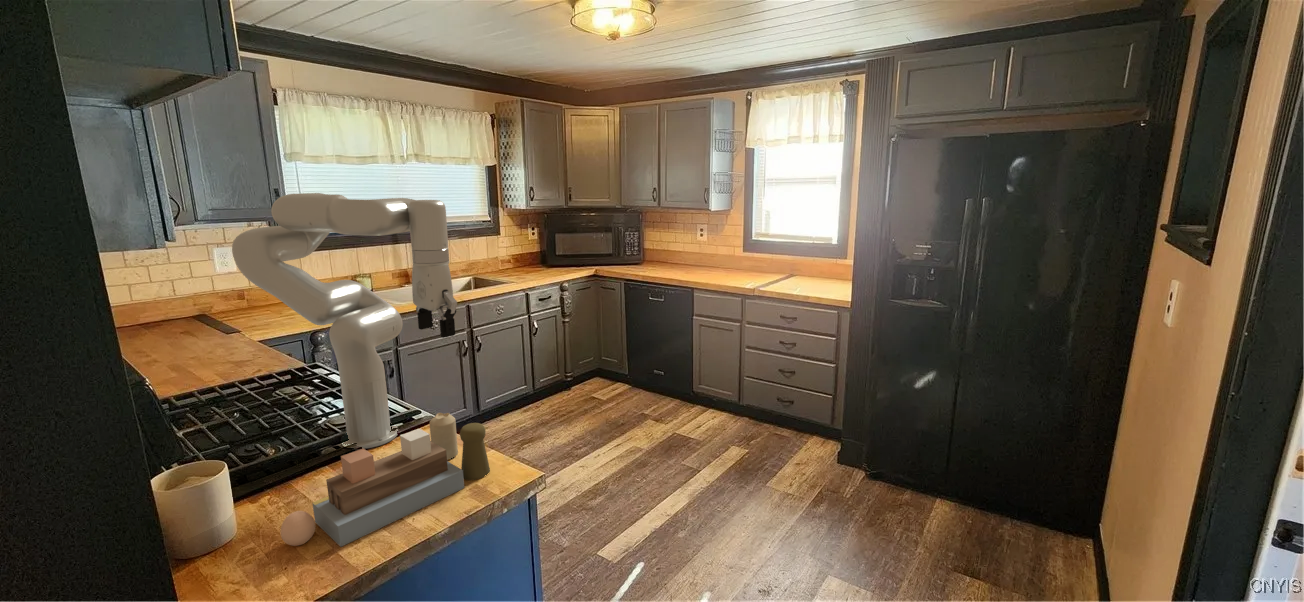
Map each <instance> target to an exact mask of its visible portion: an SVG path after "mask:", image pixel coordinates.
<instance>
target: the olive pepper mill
mask: <svg viewBox="0 0 1304 602" xmlns="http://www.w3.org/2000/svg"><path fill="white" fill-rule="evenodd" d="M459 437H460V440H461V441H462V453H461V454H462V455H461V467H460V469H462V470H463V477H464V480H466V481H467V480H468V481H475V480H476V479H477V480H480V478H481V479H483V478H485V477H486V476H485V475H487V474H488V473H489V472H490V473H491V466H490V462H489V459H488V454H487V449H486V445H485V437H486V428H485V426H484V425H483V424H482V423H480V422H471V423H467V424H464V425H463V426H462V427H461V429H460V430H459ZM490 473H489V474H490ZM489 474H488V475H489ZM488 475H487V476H488ZM484 476H485V477H484ZM482 477H483V478H482Z"/></svg>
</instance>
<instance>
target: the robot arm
mask: <svg viewBox="0 0 1304 602" xmlns="http://www.w3.org/2000/svg"><path fill="white" fill-rule="evenodd" d="M271 216H272V219H273V220H274V221H275V223H276V224H277V225H274V226H263V227H257V228H256V227H255V228H251V229H249V230H246V231H243V232H241V233H240V234H238V235H237V236H236V237H235V238H234V240H233V241H232V245H231V252H232V257H233V260H234V262H235V265H236V268H238V270H239V271H240V273H241V274H242V275H243V276H244V277H245V278H246V279H247V280H248V281H249V282H251V283H252V284H253V285H255V286H256V287H258V288H260V289H262V290H263V291H264V292H266V293H268V294H270V295H271V296H273V297H275V298H277V300H279V301H280V302H282V303H283V304H284V305H286V306H287V307H288V308H290V309H291V310H292V311H294V312H295V313H297V314H298V315H300V316H301V317H302V318H304V319H305V320H306V321H308V322H310V323H311V324H313V325H317V326H327V325H330V324H331V325H330V329H329V335H328V336H329V340H330V344H331V347H332V349H333V352H334V355H335V358H336V363H337V368H338V373H339V375H338V376H339V383H340V387H341V388H340V390H341V397H342V405H343V411H344V421H345V427H346V428H345V429H346V430H345V431H346V432H347V435H348V439H349V440H348V441H346V442H344V443H343V444H345V445H346V444H347V445H348V444H352V443H357V444H356V445H357V446H359V447H362V449H363V448H364V449H365V450H366V449H372V448H376V447H379V446H382V445H385V444H387V443H389V442H391V441H393V440H394V439H395V438H396V437H397V436H398V434H397V431H398V432H399V429H396V430H395V431H391V426H390V423H391V418H390V417H391V416H390V408H389V400H388V399H389V398H388V389H387V379H386V371H385V365H384V362H383V360H382V358H381V356H380V355H379V353H378V352H377V349H376V347H378V346H380V345H382V344H385V343H387V342H389V341H391V340H393V339H395V338H397V337H398V335H400V333H401V332H402V330H403V324H404V323H403V319H402V316H401V314H400V312H399V311H398V310H397V309H396V308H395V307H394V306H393V305H392V304H391V303H389V302H388V301H386V300H385V299H383V298H382V297H381V296H379V295H378V294H376V293H375V292H374V291H372V290H370V289H369V288H368V287H366V286H364V284H362V283H360V282H359V281H355V280H351V279H339V280H335V281H330V282H322V281H321V280H318V279H317V278H315V277H314V276H313V275H311V274H309V272H308V271H305V270H303V269H302V268H299V267H297V266H294V265H291V264H288V263H286V262H287V261H293V260H300V259H303V258H306V257H308V256H310V255H311V254H313V253H314V252H315V251H316V249H317V248H318V247H319V246H320V245H321V244H322V243H323V241H324V240H325V239H326V238H327V237H328V236H329V235H330V234H331V233H332V234H333V233H334V234H335V233H336V234H340V235H347V236H362V237H363V236H365V237H368V236H369V237H370V236H371V237H377V236H379V237H380V236H388V235H393V234H394V235H395V234H401V233H407V232H409V233H410V243H411V245H410V246H411V247H410V248H411V258H412V270H411V289H412V292H411V293H412V303H413V304H414V305H415V306H416V307H415V310H416V315H417V325H418V329H419V330H426V329H431V328H433V327H434V326H433V325H434V323H433V321H434V320H433V312H435V311H437V312H438V315H439V317H440V319H439V330H440V331H439V332H440V337H441V338H442V339H444V338H448V337H453V336H455V335H456V325H455V323H456V322H455V319H456V314H457V307H458V301H457V299H456V298H455V297H454V289H453V283H452V275H451V270H450V265H449V264H450V262H451V261H450V251H449V238H448V236H449V235H448V222H447V210H446V205H445V202H444V201H442V200H438V199H413V198H407V197H406V198H405V197H398V198H397V197H395V198H393V197H392V198H389V197H388V198H376V199H375V198H374V199H356V198H354V199H353V198H352V199H351V198H350V199H349V198H347V197H346V196H345V195H342V194H331V193H330V194H329V193H328V194H326V193H322V192H310V193H309V192H308V193H307V192H306V193H304V192H303V193H288V194H285V195H282V196H279V197H278V198H277V199H276V200H275V201H274V202H273V204H272V206H271ZM444 311H445V312H444ZM393 428H398V426H397V425H396V426H392V429H393ZM390 431H391V432H390Z"/></svg>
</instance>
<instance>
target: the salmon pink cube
mask: <svg viewBox="0 0 1304 602" xmlns="http://www.w3.org/2000/svg"><path fill="white" fill-rule="evenodd" d="M340 461H341V471H342V474H343V476H344V477H345V478H346V479H347V480H349V481H350V482H351V483H356V482H358V481H361V480H363V479H366V478H368V477H371V476H373V475H375V467H374V461H375V459H374V454H373V453H372V452H369V451H368V450H366V449H364V448H363V449H356V450H355V451H352V452H349V453H347V454H343V455H340Z"/></svg>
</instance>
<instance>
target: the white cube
mask: <svg viewBox="0 0 1304 602" xmlns="http://www.w3.org/2000/svg"><path fill="white" fill-rule="evenodd" d="M399 439H400V449H401V450H400V451H402V454H403V455H404V456H406V457H408V458H409V459H411V460H414V459H417V458H419V457H422V456H424V455H427V454H429V453H431V443H430V441H431V435H430V432H429V433H428V432H427V431H425V430H423V429H422V428H417V429H414V430H411V431H409V432H406V433H403V434H400V435H399Z"/></svg>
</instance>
